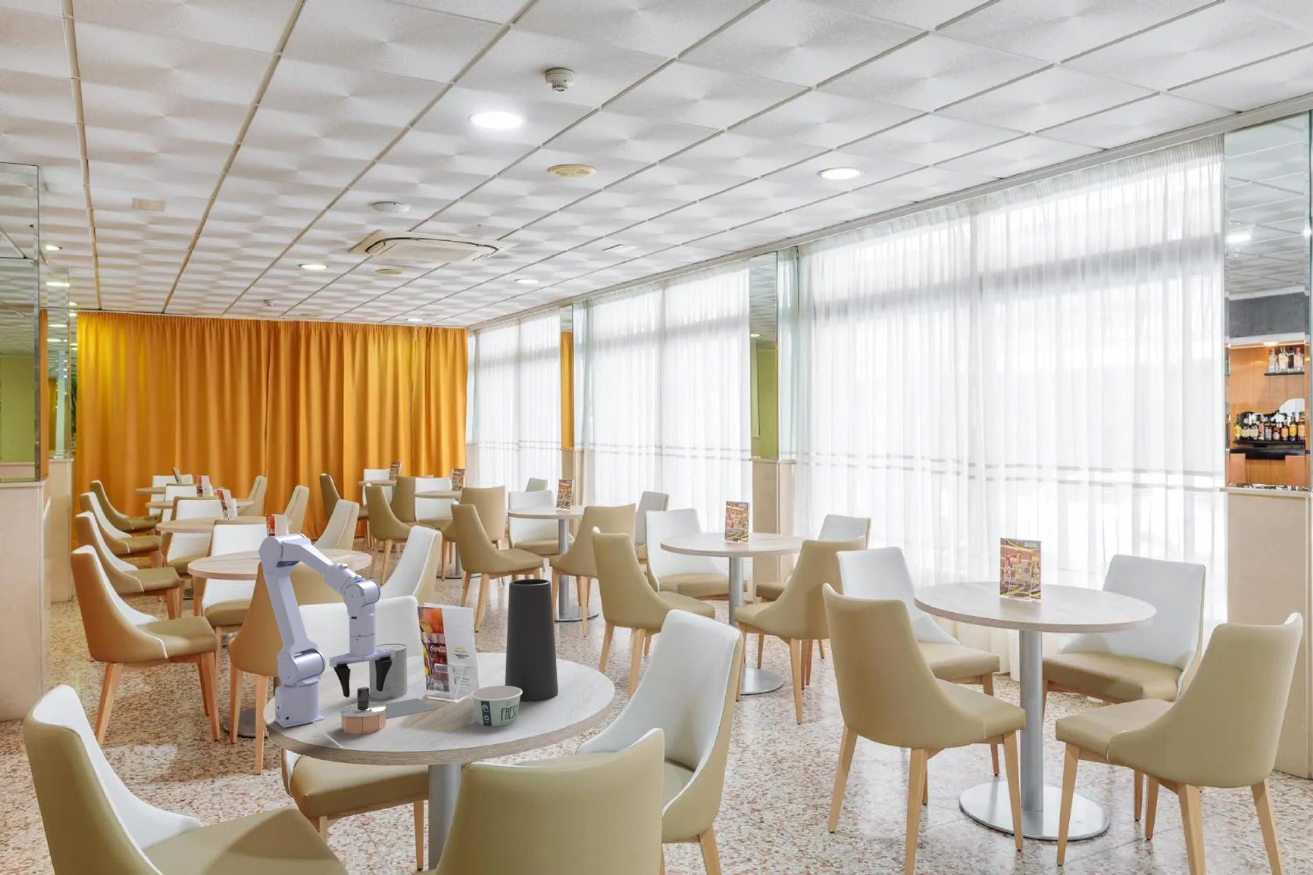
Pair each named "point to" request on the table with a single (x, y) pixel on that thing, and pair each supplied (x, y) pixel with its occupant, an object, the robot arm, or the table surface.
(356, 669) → the table surface
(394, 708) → the mat
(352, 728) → the bowl
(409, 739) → the table surface
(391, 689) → the grey concrete cylinder
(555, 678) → the vase
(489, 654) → the table surface
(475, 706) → the food container
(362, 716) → the lid
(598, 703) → the table surface
